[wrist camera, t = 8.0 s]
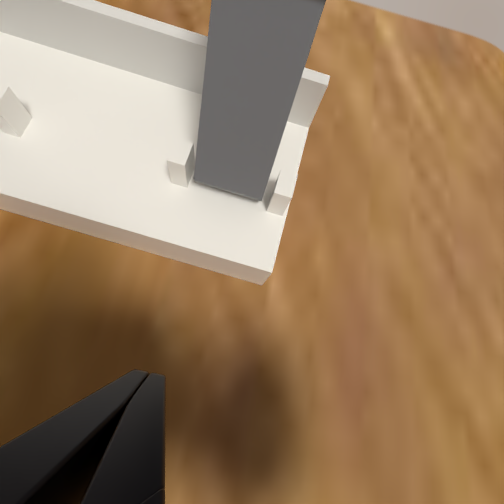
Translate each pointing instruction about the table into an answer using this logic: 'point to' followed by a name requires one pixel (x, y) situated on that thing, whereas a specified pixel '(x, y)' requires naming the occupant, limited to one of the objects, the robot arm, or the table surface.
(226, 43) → the lever
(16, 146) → the switch box
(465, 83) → the table surface
